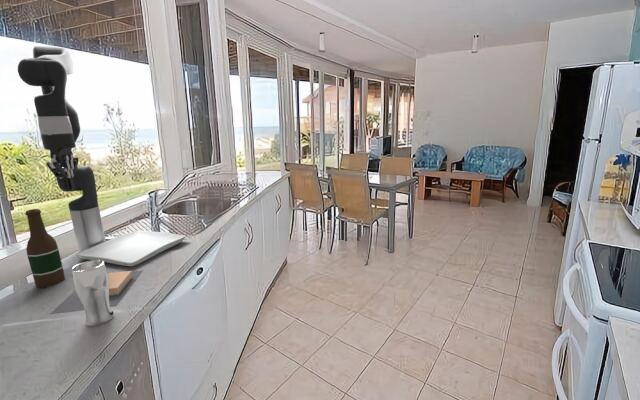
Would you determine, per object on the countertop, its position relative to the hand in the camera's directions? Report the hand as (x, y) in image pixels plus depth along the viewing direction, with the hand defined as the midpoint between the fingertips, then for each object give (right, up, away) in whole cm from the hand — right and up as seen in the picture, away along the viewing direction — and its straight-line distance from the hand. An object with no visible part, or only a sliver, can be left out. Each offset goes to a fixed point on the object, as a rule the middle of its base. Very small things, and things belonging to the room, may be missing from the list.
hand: (69, 190), depth 101 cm
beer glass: (+21, -34, -17) cm, 43 cm away
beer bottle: (-8, -30, +3) cm, 31 cm away
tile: (+13, -27, +3) cm, 30 cm away
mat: (+12, -30, -3) cm, 33 cm away
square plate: (+5, -24, +27) cm, 36 cm away
